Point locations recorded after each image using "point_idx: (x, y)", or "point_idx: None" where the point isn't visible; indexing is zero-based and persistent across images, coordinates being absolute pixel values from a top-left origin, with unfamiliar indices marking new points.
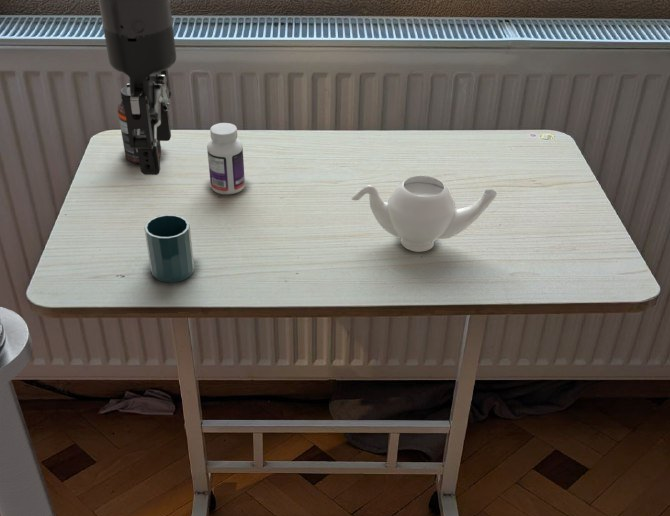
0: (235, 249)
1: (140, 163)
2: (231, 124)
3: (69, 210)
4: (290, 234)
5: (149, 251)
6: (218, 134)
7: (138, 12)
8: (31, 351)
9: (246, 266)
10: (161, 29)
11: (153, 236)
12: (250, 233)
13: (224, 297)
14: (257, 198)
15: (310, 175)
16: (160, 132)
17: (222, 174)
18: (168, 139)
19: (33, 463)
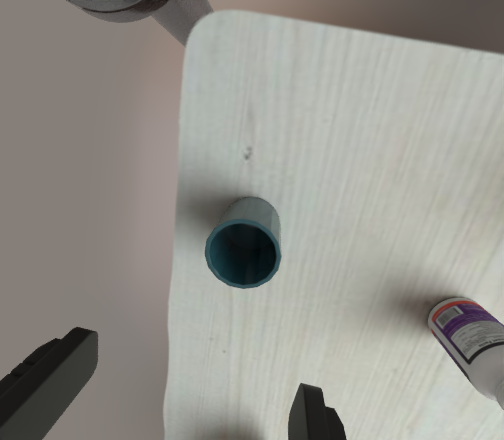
0: (285, 301)
1: (48, 354)
2: None
3: (482, 55)
4: (305, 361)
5: (232, 210)
6: None
7: None
8: (115, 21)
9: (246, 307)
10: None
11: (212, 231)
12: (318, 323)
13: (187, 276)
14: (404, 345)
15: (441, 409)
16: (296, 428)
17: (451, 334)
18: (290, 417)
19: (182, 42)
